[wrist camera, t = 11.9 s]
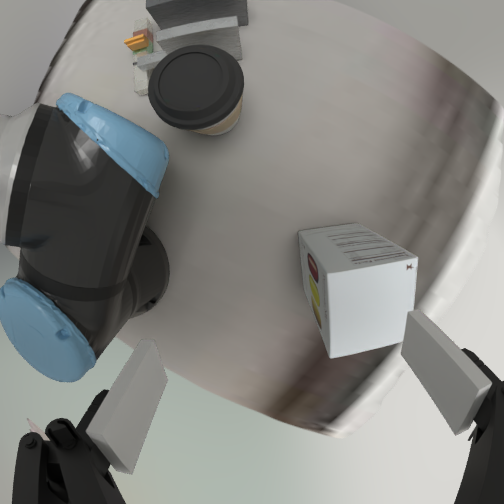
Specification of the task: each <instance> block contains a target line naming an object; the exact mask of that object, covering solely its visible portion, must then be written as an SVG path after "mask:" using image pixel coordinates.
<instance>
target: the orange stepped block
mask: <svg viewBox="0 0 504 504" xmlns="http://www.w3.org/2000/svg"><path fill="white" fill-rule="evenodd" d="M124 43H125V44H126V45H127V46H128V47H129V48H130V49H131V50H132V51H135V50H138V49H141V48H145V47H148V46H149V39H148V38H147V37H146V36H145V35H144V34H141V35H138V36H135V37H132V38H129V39H126V40H124Z"/></svg>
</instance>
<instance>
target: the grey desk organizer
mask: <svg viewBox="0 0 504 504" xmlns="http://www.w3.org/2000/svg"><path fill="white" fill-rule="evenodd" d="M146 9H147V10H148V12H149V13H150V14H151V16H152V17H153V19H154V20H155V21H156V23H157V24H158V26H159V27H160V28H161V30H164V29H168V28H172V27H176V26H181V25H185V24H190V23H195V22H200V21H206V20H211V19H218V18H225V17H233V16H237V21H238V26H244V25H248V12H247V0H146ZM141 34H144V35H145V36H146V37H147V38H148V39H149V46H148V47H145V48H141V49H138V50H135V51H133V55H134V63H133V65H134V88H135V92H136V93H138V94H139V95H141V96H142V95H146V94H148V83H149V79H150V76H151V74H152V72H153V69H149V70H145V71H142V70H140V69H139V68H138V67H137V58H138V57H141V56H144V55H147V54H151V53H153V35H152V23H151V22H150V21H149V19H148V18H144V19H141V20H137V21H135V30H134V32H133V37H135V36H138V35H141Z"/></svg>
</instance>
